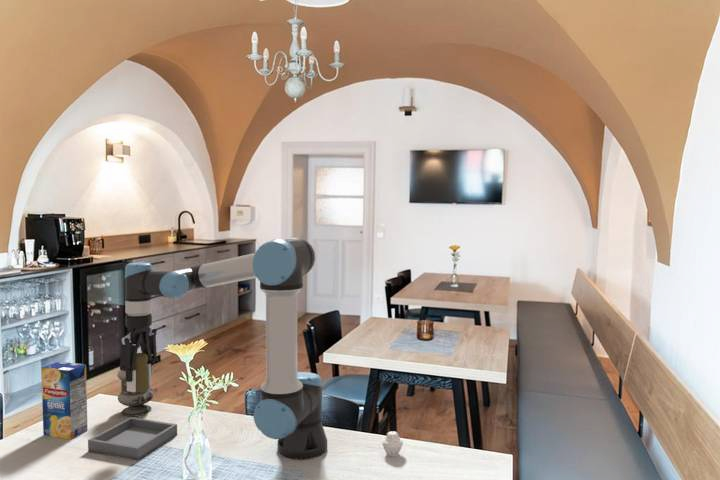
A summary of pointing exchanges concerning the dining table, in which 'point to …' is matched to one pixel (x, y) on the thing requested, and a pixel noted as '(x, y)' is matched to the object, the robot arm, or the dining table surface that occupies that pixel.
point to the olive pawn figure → (141, 372)
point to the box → (132, 438)
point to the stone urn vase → (134, 398)
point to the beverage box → (64, 399)
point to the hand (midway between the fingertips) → (139, 387)
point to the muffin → (392, 443)
